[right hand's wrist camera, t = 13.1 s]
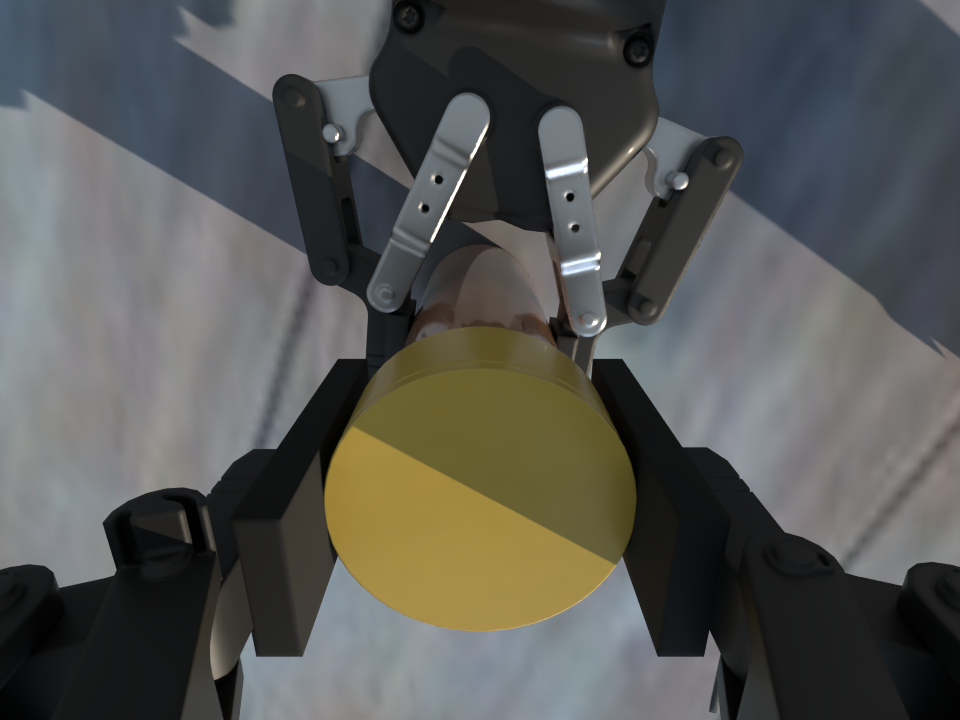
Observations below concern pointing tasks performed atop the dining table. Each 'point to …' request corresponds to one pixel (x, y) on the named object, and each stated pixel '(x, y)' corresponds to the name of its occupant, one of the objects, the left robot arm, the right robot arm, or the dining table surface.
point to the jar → (480, 296)
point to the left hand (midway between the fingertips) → (471, 411)
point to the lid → (480, 483)
